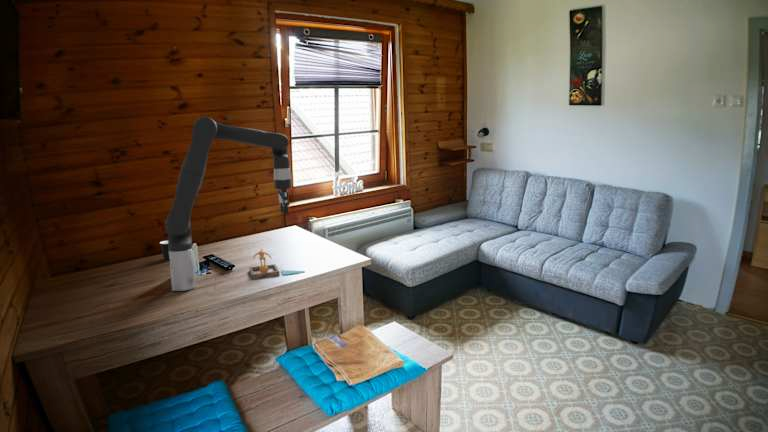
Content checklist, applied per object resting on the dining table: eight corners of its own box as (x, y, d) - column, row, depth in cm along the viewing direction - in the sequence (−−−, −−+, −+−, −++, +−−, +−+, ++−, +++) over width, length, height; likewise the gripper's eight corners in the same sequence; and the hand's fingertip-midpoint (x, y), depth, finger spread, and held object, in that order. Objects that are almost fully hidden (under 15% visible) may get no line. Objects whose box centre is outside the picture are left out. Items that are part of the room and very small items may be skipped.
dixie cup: (179, 262, 229) (177, 241, 227) (162, 264, 225) (160, 244, 223) (176, 259, 235) (174, 239, 234) (160, 261, 231) (158, 241, 229)
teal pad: (283, 275, 198) (283, 274, 198) (279, 270, 208) (279, 269, 207) (305, 272, 202) (305, 271, 202) (300, 267, 211) (300, 266, 211)
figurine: (274, 271, 205) (272, 246, 203) (271, 275, 199) (269, 249, 197) (256, 272, 204) (254, 247, 202) (253, 276, 198) (251, 250, 197)
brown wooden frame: (252, 279, 194) (251, 274, 194) (249, 271, 207) (249, 267, 207) (279, 275, 198) (279, 271, 198) (275, 268, 211) (275, 264, 211)
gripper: (271, 178, 205) (274, 212, 208) (276, 179, 192) (278, 216, 195) (288, 177, 208) (290, 211, 210) (293, 178, 195) (295, 214, 197)
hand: (284, 213), depth 202 cm, fingers open, 8 cm apart
